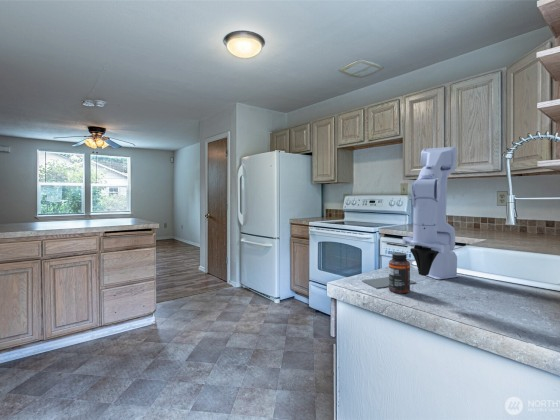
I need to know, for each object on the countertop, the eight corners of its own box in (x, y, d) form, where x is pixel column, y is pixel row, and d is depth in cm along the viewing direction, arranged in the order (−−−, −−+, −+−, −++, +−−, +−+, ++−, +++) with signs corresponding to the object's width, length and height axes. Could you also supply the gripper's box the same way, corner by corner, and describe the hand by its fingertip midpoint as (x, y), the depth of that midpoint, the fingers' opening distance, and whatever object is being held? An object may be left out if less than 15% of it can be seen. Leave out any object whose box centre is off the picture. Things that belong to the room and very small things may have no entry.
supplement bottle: (406, 287, 96) (407, 251, 95) (412, 294, 90) (413, 255, 89) (386, 287, 97) (386, 251, 96) (391, 293, 91) (391, 255, 90)
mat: (398, 276, 108) (398, 275, 108) (415, 283, 100) (416, 282, 100) (361, 281, 103) (361, 280, 103) (376, 288, 96) (376, 287, 96)
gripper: (394, 222, 89) (393, 269, 89) (434, 228, 75) (433, 284, 76) (414, 221, 91) (413, 267, 92) (457, 227, 77) (455, 280, 78)
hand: (423, 274), depth 84 cm, fingers closed
